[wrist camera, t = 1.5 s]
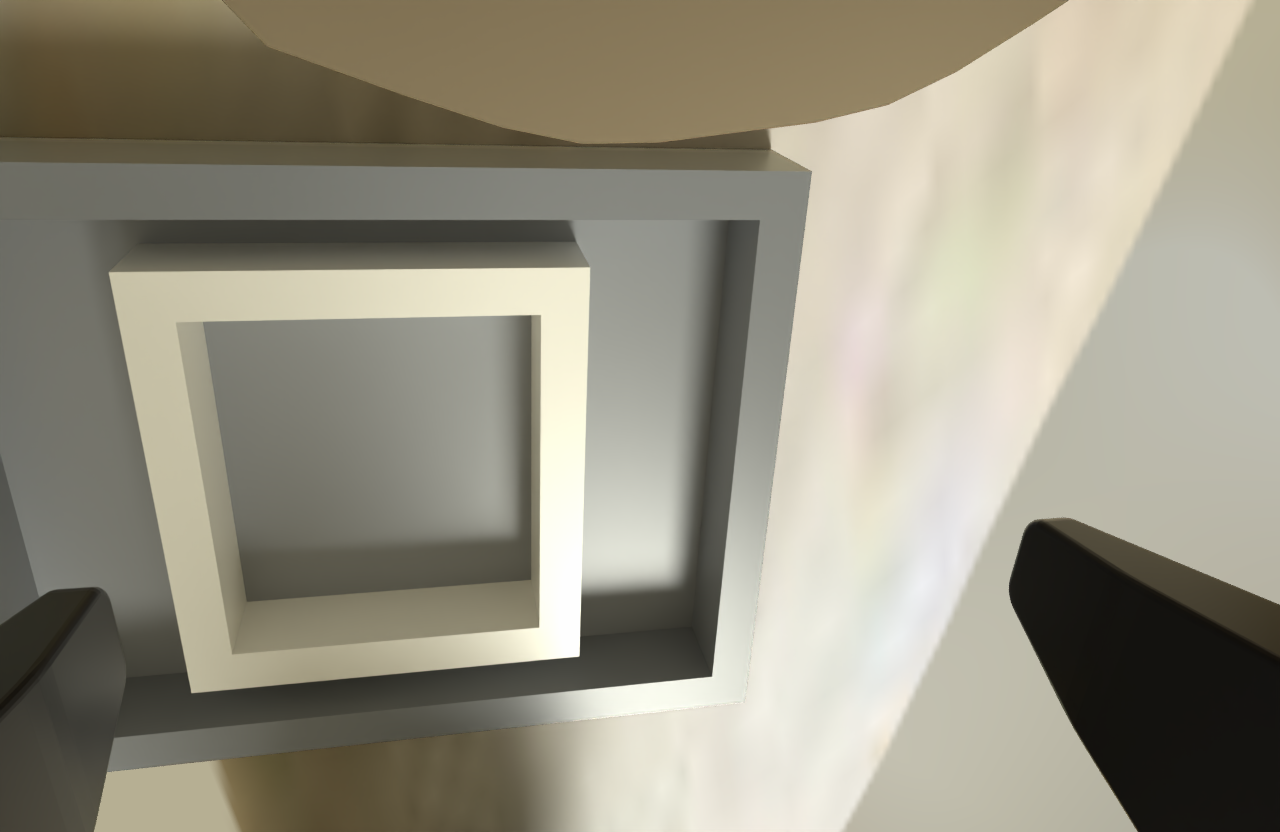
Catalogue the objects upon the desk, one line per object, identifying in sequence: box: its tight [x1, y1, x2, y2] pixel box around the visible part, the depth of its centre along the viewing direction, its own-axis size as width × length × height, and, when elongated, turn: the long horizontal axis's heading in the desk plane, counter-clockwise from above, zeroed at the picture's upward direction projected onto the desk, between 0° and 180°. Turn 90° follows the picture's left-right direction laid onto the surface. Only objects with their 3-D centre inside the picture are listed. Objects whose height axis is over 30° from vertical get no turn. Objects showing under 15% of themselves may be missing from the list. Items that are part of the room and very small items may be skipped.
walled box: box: [0, 137, 812, 772], centre depth 21 cm, size 14×18×2 cm
